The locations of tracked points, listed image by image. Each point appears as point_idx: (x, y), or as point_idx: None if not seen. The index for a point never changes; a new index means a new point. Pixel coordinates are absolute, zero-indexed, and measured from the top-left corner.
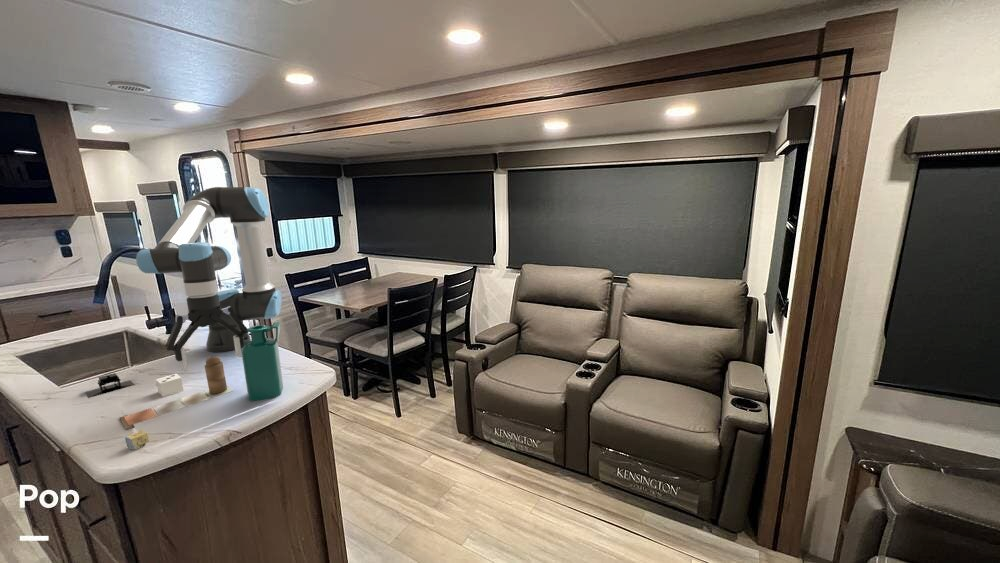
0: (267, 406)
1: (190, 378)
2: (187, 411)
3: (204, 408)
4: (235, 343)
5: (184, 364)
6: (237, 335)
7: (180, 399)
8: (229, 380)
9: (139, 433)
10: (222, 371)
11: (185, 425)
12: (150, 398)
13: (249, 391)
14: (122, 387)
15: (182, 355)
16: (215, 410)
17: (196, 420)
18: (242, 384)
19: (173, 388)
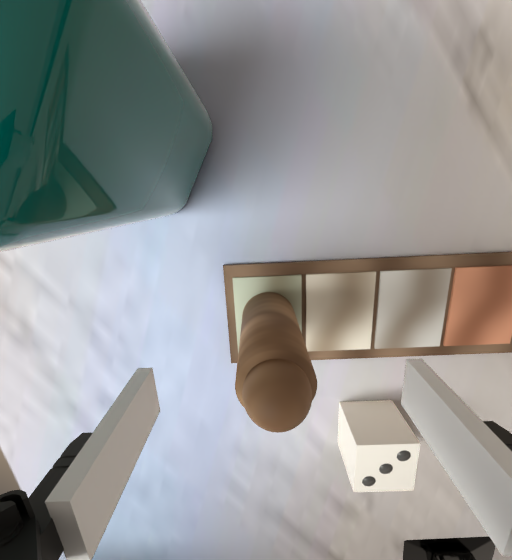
0: (169, 17)
1: (296, 486)
2: (379, 241)
3: (337, 219)
4: (116, 470)
5: (446, 388)
6: (46, 541)
7: (369, 343)
8: (216, 389)
9: None
10: (248, 337)
11: (422, 121)
12: (411, 427)
13: (199, 100)
14: (430, 544)
15: (504, 444)
16: (318, 166)
17: (386, 133)
18: (192, 323)
19: (371, 418)
